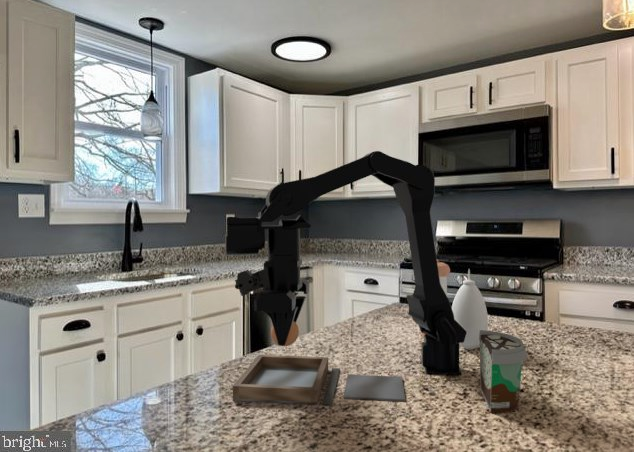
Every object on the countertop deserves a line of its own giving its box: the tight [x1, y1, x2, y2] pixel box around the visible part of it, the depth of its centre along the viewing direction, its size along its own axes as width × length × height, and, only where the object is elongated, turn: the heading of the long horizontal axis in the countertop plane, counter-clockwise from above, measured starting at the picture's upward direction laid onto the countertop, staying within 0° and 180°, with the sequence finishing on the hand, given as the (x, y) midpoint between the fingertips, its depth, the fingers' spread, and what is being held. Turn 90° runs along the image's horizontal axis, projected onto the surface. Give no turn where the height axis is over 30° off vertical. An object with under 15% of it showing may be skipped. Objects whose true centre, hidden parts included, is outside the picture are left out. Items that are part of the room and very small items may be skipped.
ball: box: [270, 321, 300, 347], centre depth 78 cm, size 5×5×5 cm
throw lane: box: [232, 354, 406, 407], centre depth 78 cm, size 28×16×2 cm, turn 82°
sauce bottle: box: [451, 269, 489, 351], centre depth 98 cm, size 8×8×18 cm
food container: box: [479, 330, 528, 414], centre depth 70 cm, size 12×6×10 cm, turn 168°
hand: (284, 340), depth 78 cm, fingers closed on ball, 5 cm apart
